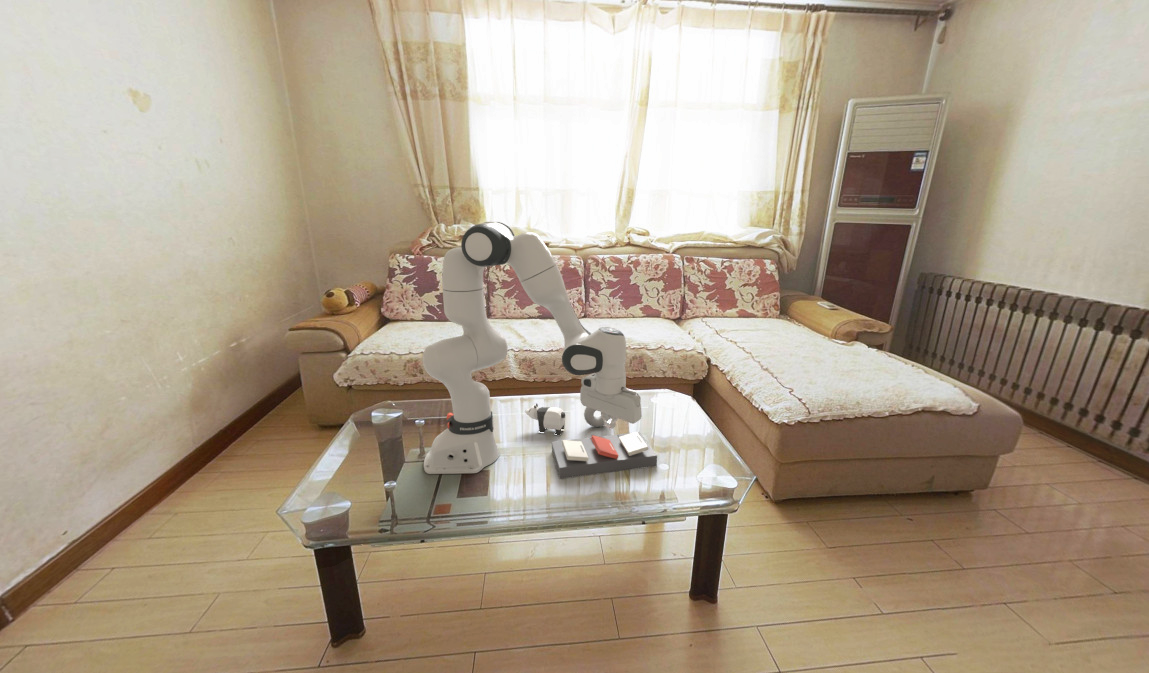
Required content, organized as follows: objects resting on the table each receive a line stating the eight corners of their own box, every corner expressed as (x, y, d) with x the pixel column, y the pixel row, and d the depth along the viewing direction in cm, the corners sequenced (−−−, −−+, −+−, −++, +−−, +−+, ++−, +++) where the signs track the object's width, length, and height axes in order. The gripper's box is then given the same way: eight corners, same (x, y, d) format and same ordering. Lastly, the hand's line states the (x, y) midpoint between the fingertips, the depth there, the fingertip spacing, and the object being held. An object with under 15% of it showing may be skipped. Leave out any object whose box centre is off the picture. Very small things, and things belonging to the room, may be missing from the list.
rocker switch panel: (559, 478, 118) (559, 465, 117) (552, 451, 133) (551, 439, 131) (656, 466, 124) (657, 453, 123) (639, 441, 138) (639, 429, 137)
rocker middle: (598, 454, 120) (600, 450, 119) (590, 438, 129) (592, 434, 128) (617, 459, 121) (618, 455, 121) (608, 443, 130) (609, 439, 130)
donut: (585, 430, 146) (585, 403, 144) (583, 425, 150) (582, 399, 147) (613, 427, 148) (613, 401, 146) (610, 423, 151) (610, 397, 149)
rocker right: (629, 456, 122) (628, 452, 121) (619, 440, 131) (618, 436, 131) (648, 449, 123) (647, 446, 122) (637, 434, 132) (636, 431, 131)
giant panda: (568, 429, 147) (567, 404, 145) (562, 437, 142) (562, 411, 139) (529, 424, 151) (528, 400, 149) (523, 431, 146) (521, 406, 144)
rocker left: (567, 459, 118) (568, 455, 118) (561, 443, 127) (562, 439, 127) (587, 461, 120) (588, 457, 119) (580, 444, 129) (581, 441, 128)
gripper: (646, 389, 116) (645, 434, 120) (590, 372, 129) (590, 413, 133) (633, 396, 112) (632, 442, 115) (576, 377, 125) (577, 420, 129)
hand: (609, 426), depth 124 cm, fingers closed
